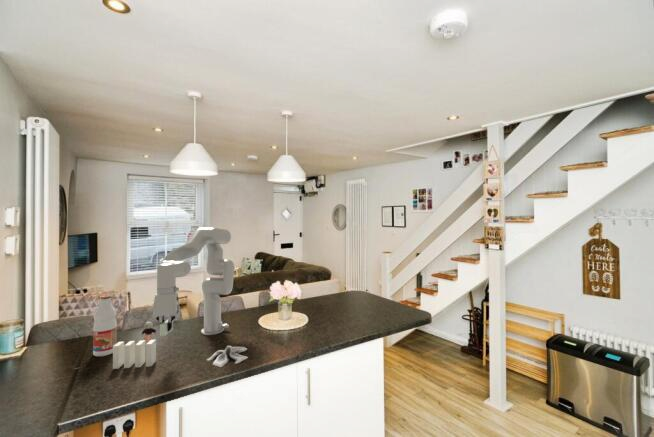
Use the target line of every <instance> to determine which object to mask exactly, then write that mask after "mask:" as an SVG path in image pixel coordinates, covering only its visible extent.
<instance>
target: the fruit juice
mask: <svg viewBox="0 0 654 437" xmlns="http://www.w3.org/2000/svg"><path fill="white" fill-rule="evenodd" d="M111 299H112V295H111V294H104V295H100V296H99V297H98V300H99V304H98V306H97V308H96V309H95V311H94V313H93V319H94V322H93V327H92V343H93V344H92V353H93V356H95V357H105V356H109V355H111V354H112V355H113V346H114V345H115V344H117V343H118V342H117V341H118V339H117V338H118V336H117V334H118V331H117V329H118V325H117V324H118V323H117V319H116V316H117V309H116V308H115V307H114V306H113V304H112V302H111Z"/></svg>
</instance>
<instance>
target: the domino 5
mask: <svg viewBox="0 0 654 437" xmlns="http://www.w3.org/2000/svg"><path fill="white" fill-rule="evenodd" d="M167 323H168V319H166V320H165V322H163V323H162V324H160V323H159V337H165V336H167V335H168V334H169V333H170V332H172V331H173V330H174V320H173V321H172V329H171V330H170V331H169V332H167Z"/></svg>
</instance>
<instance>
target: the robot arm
mask: <svg viewBox="0 0 654 437" xmlns="http://www.w3.org/2000/svg"><path fill="white" fill-rule="evenodd" d="M231 239H232V235H231V232H230V231H229V230H228V229H224V228H220V227H219V228H218V227H198V228H197V229H195V230H194V232H193V233H192V234H191V235H190V237H189V238H188V239H187V241H186V242H185V243H184V244H183V245H180V246H179V247H176V248H174V249H173V250H171V251H170V252H169V253H167V254H166V256H165V257H164V258H163V259H162V260H161V262H160V264H158V266H157V267H156V271H157V272H156V293H155V295H154V300H153V307H152V311H153V312H152V315H151V318H152V319H155V320H156V321H157V322H158V323H159V325H160V324H162V323H163V322H165V321H166V320H165V317H167V320H168V323H167V332H169V331H170V330H171V329H172V321H173V322H174V320H175V319H176V318H180V316H181V312H180V300H179V299H180V298H179V293H178V292H177V291H179V290H180V288H179V287H177V285H176V281H177V280H176V278H183V277H186V276H188V275H189V274H190V272H191V269H192V268H191V267H192V266H191V264H190V263H189V262H188V261H184V260H187V259H189V258H193V257H196V256H198V255H199V254H200V253H201V251H202V249H203V248H204V247H205V246H206V249H207V263H206V273H207V274H208V275H210V276H222V277H207V278H205V279H204V280H203V281H202V283H201V291H202V296H203V328H202V329H200V334H202V335H204V336H212V335H218V334H220V333H222V332H224V330H225V329H229V324H228V323H223V321H222V300H221V297H220V295H222V296H223V295H230V294H231V293H232V291H233V287H234V279H235V278H234V277H235V276H234V275H235V264H234V261H233V260H232V259H228V258H227V259H224V258H223V257H224V250H223V247H222V246H221V245H227V244H229V243H230V242H231ZM169 333H170V332H169Z"/></svg>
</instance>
